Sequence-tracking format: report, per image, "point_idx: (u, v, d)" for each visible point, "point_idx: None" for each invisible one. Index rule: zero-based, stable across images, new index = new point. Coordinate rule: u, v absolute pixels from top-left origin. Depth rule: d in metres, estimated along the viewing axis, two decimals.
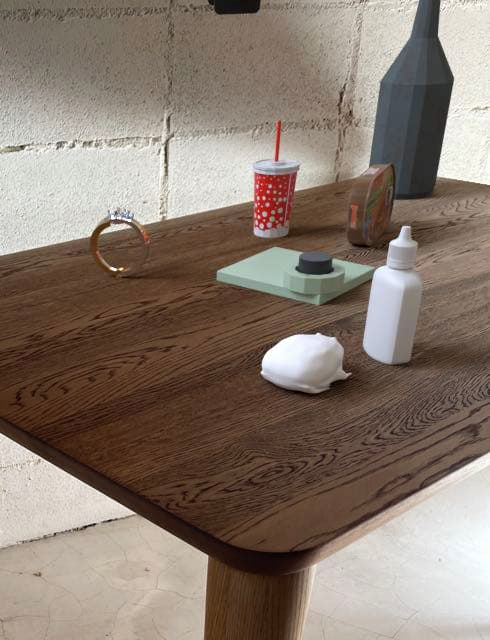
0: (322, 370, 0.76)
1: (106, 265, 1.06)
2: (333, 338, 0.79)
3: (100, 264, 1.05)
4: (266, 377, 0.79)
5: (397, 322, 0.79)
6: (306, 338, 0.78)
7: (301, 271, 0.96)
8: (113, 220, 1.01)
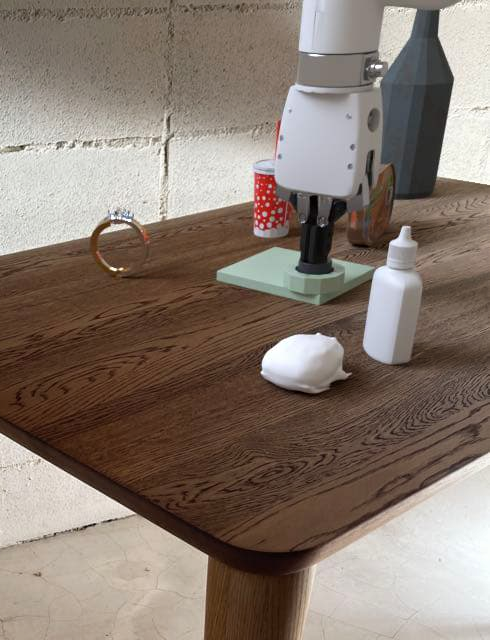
0: (322, 370, 0.76)
1: (106, 265, 1.06)
2: (333, 338, 0.79)
3: (100, 264, 1.05)
4: (266, 377, 0.79)
5: (397, 322, 0.79)
6: (306, 338, 0.78)
7: None
8: (113, 220, 1.01)
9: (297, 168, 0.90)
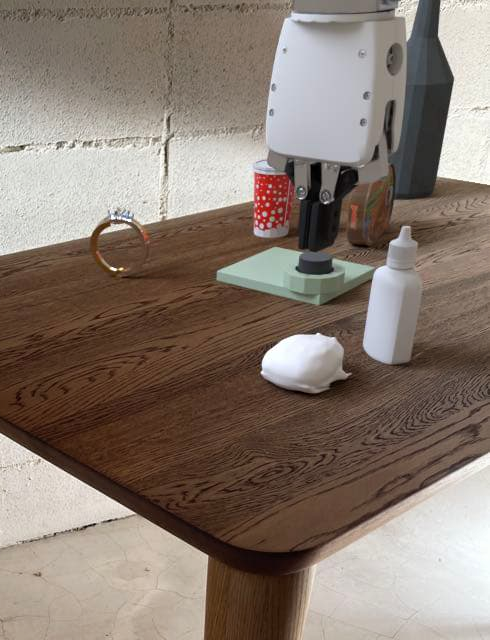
0: (322, 370, 0.76)
1: (106, 265, 1.06)
2: (333, 338, 0.79)
3: (100, 264, 1.05)
4: (266, 377, 0.79)
5: (397, 322, 0.79)
6: (306, 338, 0.78)
7: (301, 271, 0.96)
8: (113, 220, 1.01)
9: (294, 127, 0.69)
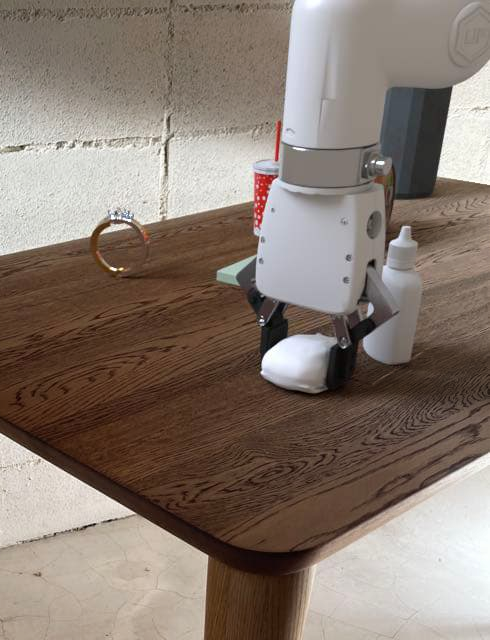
0: (322, 370, 0.76)
1: (106, 265, 1.06)
2: (333, 338, 0.79)
3: (100, 264, 1.05)
4: (266, 377, 0.79)
5: (397, 322, 0.79)
6: (305, 338, 0.78)
7: None
8: (113, 220, 1.01)
9: (282, 276, 0.74)
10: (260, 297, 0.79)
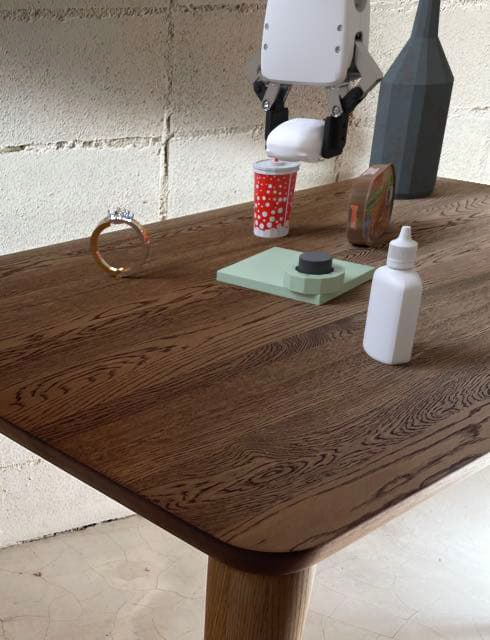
0: (318, 140, 0.90)
1: (106, 265, 1.06)
2: None
3: (100, 264, 1.05)
4: (270, 153, 0.92)
5: (397, 322, 0.79)
6: (303, 118, 0.92)
7: (301, 271, 0.96)
8: (113, 220, 1.01)
9: (283, 57, 0.88)
10: (264, 85, 0.92)
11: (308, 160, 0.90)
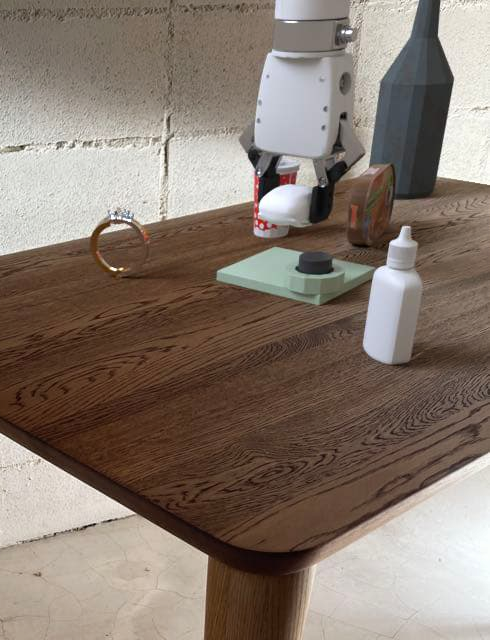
0: (306, 207, 0.97)
1: (106, 265, 1.06)
2: None
3: (100, 264, 1.05)
4: (262, 217, 1.00)
5: (397, 322, 0.79)
6: (293, 185, 0.99)
7: (301, 271, 0.96)
8: (113, 220, 1.01)
9: (275, 131, 0.95)
10: (258, 154, 1.00)
11: (296, 225, 0.98)
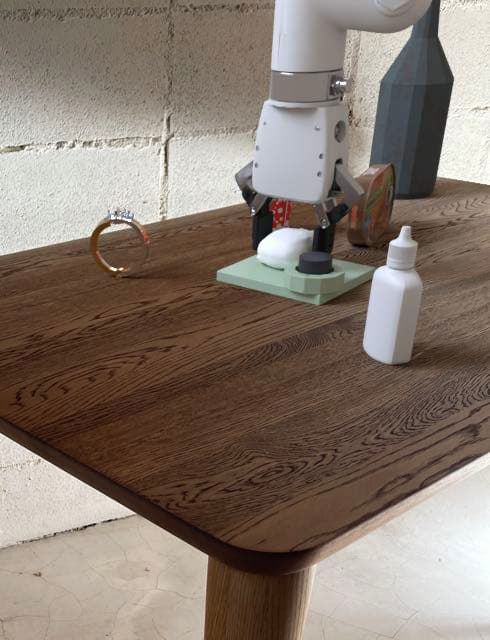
0: (303, 251, 1.00)
1: (106, 265, 1.06)
2: (312, 230, 1.03)
3: (100, 264, 1.05)
4: (261, 260, 1.03)
5: (397, 322, 0.79)
6: (291, 229, 1.02)
7: (301, 271, 0.96)
8: (113, 220, 1.01)
9: (272, 176, 0.98)
10: (252, 193, 1.03)
11: None
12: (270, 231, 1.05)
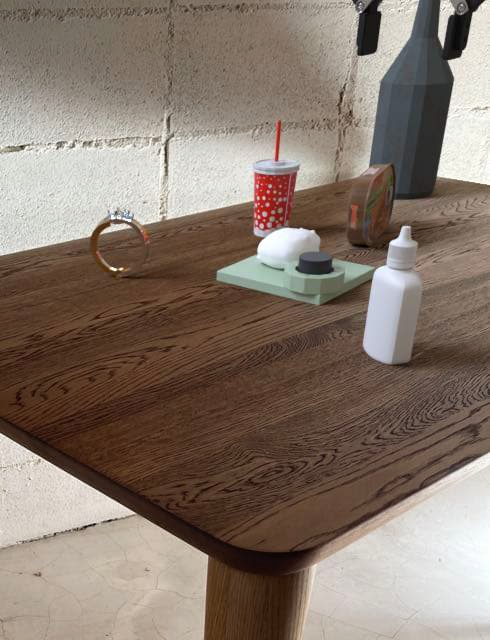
0: (303, 251, 1.00)
1: (106, 265, 1.06)
2: (312, 230, 1.03)
3: (100, 264, 1.05)
4: (261, 260, 1.03)
5: (397, 322, 0.79)
6: (291, 229, 1.02)
7: (301, 271, 0.96)
8: (113, 220, 1.01)
9: None
10: None
11: None
12: (376, 35, 0.95)
